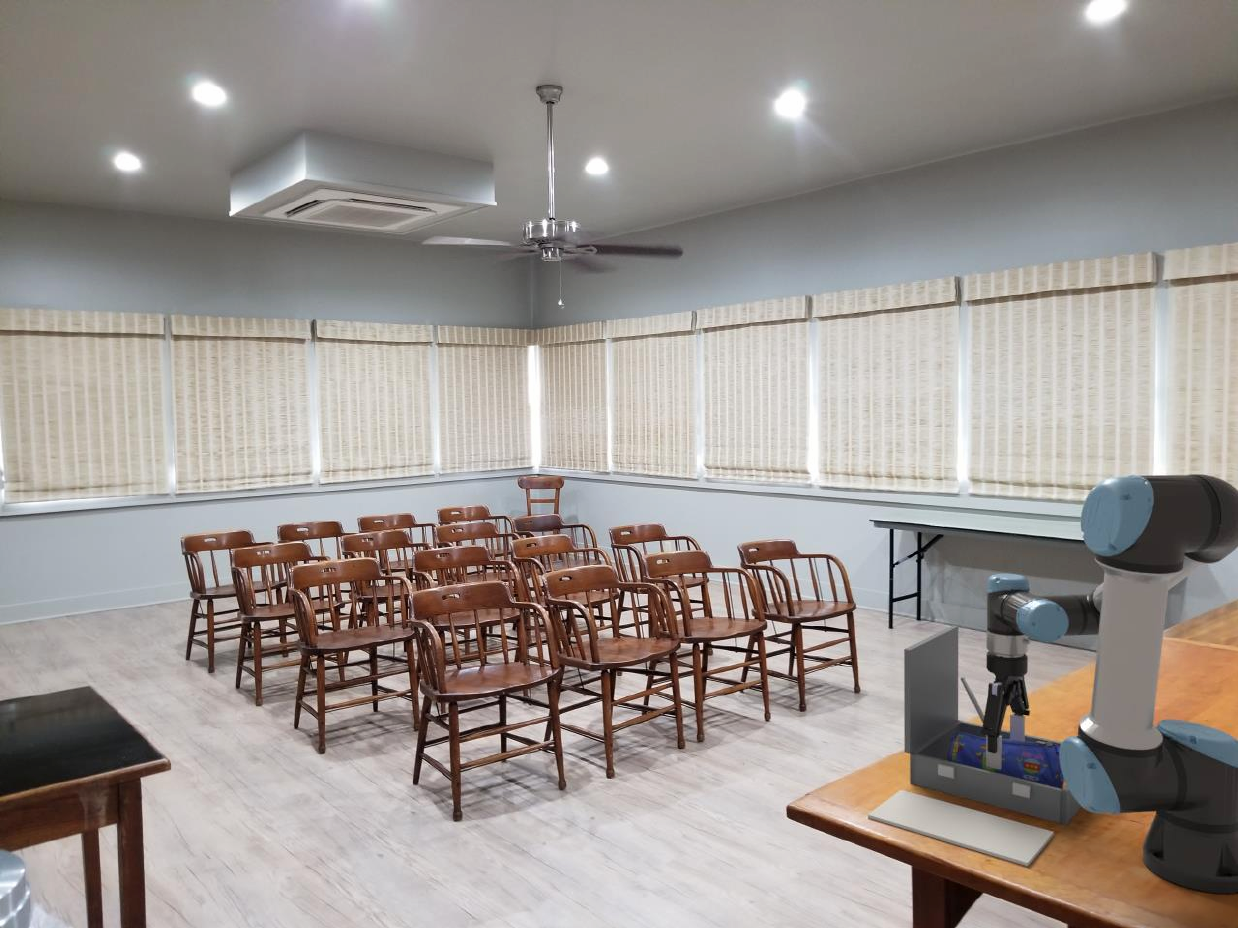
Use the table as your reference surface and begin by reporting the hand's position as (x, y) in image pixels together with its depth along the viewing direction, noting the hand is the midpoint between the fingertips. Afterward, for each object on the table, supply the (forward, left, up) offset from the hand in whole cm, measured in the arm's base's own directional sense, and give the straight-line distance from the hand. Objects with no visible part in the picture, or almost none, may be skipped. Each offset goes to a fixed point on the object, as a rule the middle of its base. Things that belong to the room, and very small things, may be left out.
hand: (1005, 756), depth 180 cm
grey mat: (-25, 0, -5) cm, 26 cm away
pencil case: (0, 0, -5) cm, 5 cm away
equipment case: (0, 0, -5) cm, 5 cm away
